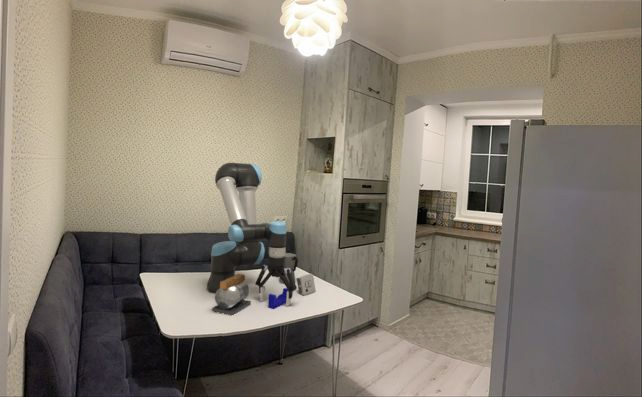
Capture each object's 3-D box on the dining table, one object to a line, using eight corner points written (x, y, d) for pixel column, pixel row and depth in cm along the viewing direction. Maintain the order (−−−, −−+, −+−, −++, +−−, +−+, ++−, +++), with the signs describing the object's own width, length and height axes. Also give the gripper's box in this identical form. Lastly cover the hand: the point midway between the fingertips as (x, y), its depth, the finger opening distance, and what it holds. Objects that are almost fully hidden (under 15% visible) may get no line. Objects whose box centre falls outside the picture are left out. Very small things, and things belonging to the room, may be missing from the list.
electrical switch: (303, 296, 164) (303, 277, 164) (295, 294, 167) (295, 276, 167) (315, 292, 171) (315, 273, 171) (308, 290, 174) (307, 272, 174)
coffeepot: (273, 280, 188) (274, 248, 187) (287, 277, 194) (289, 247, 193) (288, 287, 176) (290, 253, 175) (303, 284, 182) (304, 251, 181)
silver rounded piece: (232, 315, 136) (233, 284, 136) (211, 311, 139) (212, 280, 139) (250, 304, 149) (251, 275, 149) (231, 300, 153) (232, 272, 152)
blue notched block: (281, 299, 158) (282, 287, 157) (289, 302, 155) (290, 289, 155) (265, 307, 147) (265, 293, 147) (273, 309, 145) (274, 296, 145)
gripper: (248, 254, 152) (247, 301, 152) (298, 260, 144) (296, 310, 145) (257, 251, 159) (255, 296, 160) (305, 257, 151) (303, 304, 152)
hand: (275, 303), depth 152 cm, fingers open, 12 cm apart
